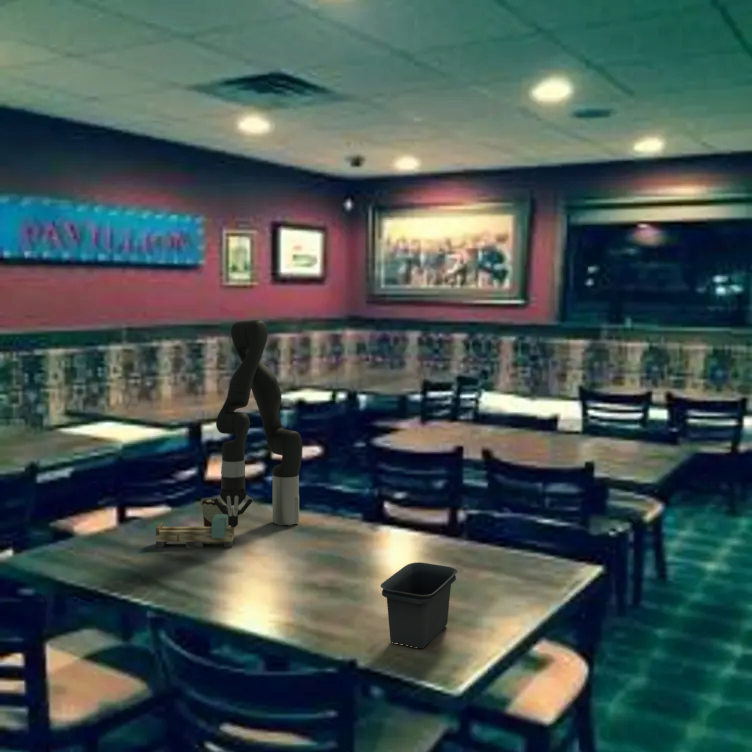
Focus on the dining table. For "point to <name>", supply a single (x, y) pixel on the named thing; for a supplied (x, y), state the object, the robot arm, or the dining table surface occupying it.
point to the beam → (191, 536)
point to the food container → (211, 510)
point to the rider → (219, 525)
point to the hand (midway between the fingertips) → (233, 526)
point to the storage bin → (418, 602)
